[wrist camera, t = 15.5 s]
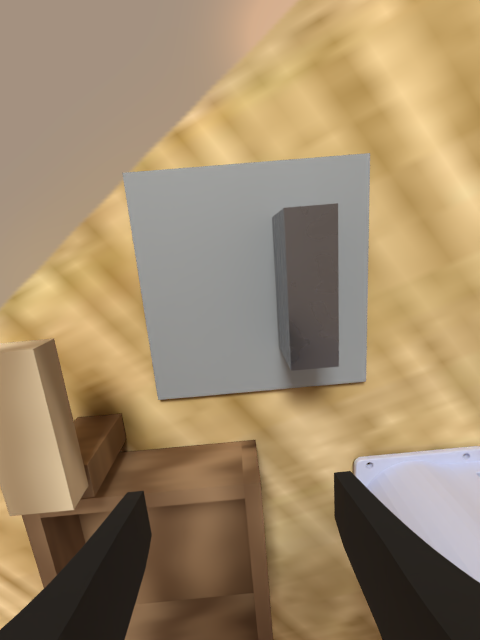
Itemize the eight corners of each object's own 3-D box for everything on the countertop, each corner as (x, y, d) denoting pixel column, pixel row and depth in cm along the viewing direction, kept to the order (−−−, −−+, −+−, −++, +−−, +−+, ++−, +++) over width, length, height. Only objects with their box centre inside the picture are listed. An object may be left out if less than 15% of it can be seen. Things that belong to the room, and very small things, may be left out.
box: (252, 401, 21) (258, 448, 16) (267, 590, 24) (276, 674, 20) (48, 420, 20) (-9, 473, 16) (95, 606, 24) (62, 696, 19)
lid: (362, 158, 18) (411, 124, 13) (359, 375, 21) (398, 412, 16) (128, 177, 18) (89, 149, 13) (161, 392, 21) (140, 436, 16)
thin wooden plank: (53, 338, 14) (32, 349, 12) (88, 485, 16) (74, 509, 14) (-12, 344, 14) (-41, 355, 12) (30, 490, 15) (10, 515, 14)
